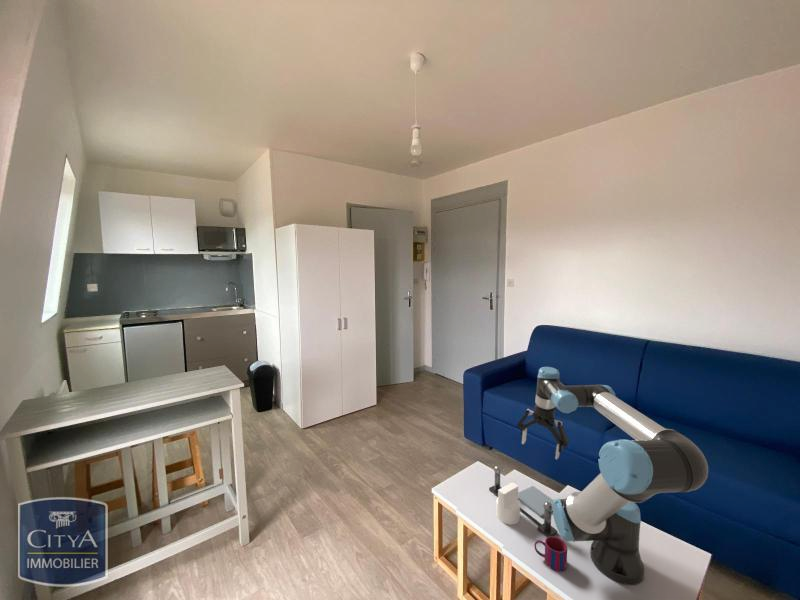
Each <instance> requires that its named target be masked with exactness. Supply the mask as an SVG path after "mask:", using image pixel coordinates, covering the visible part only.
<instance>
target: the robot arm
mask: <svg viewBox="0 0 800 600" xmlns="http://www.w3.org/2000/svg"><path fill="white" fill-rule="evenodd" d="M536 379H537V381H536V392H535V403H534V410H532V408H530V407H528V408H527V409H526V411H525V413H524V415H523V416H522V417H521V418H520V420H519V421H518V422H517V423H516V427H517V428H519V429H520V432H519V435H520V436H521V437H522V438H521V445H524V444H525V443H526V441H527V432H528V428H529V427H530V426H532V425H535V424H537V425H538V426H541V427H544V428H547V430H548V431H550V432H551V434H552V436H553V437H554V439H555V440H556V442H557V444H556V448H555V457H554V459H555V460H558V459H559V457H560V453H562V452H563V450H564V447H566V448H567V447H568V446H569V444H570V441H569V439H568V436H567V433H566V430H565V428H564V425H563V424H564V421H563V420H562V419H559V420H558V419H555V413H556V409H557V410H558V411H559V412H561V413H564V414H570V413H572V412H575V411H576V410H577V408H585V407H586V408H587V407H588V408H590V407H591V408H594V410H596V411H597V412H598V413H600V414H601V415H602V416H603V417H605V418H606V419H607V420H609V421H610V422H612V423H613V424H614V425H615V426H617V427H618V428H619V429H621V430H622V431H623V432H625V433H626V434H627V435H629V436H630V437H631V438H632V439H633V440H630V439H625V438H624V439H616V440H611V441H608V442H606V443H603V445H602V446H601V448H600V450H599V453H598V456H599V458H598V460H597V461H598V468H599V471H600V473H599V474H598V475H597V476H596V477H595V478H594V479H593V480H592V481H591V482H590V483H588V484H587V486H585V488H584V489H583V490H582V491H574V492H572V493H570V494H569V495H568V496H567V497H566V498H557V499H553V500H554V501H553V503H552V511H553V512H552V516H553V520H554V524H555V527H556V530H557V531H558V533H559V535H560V537H562V540H563V541H566V542H573V543H575V542H589V541H590V542H591V541H592V543H591V545H590V551H589V552H590V553H589V555H590V560H591V563H593V564H594V566H595V568H596V569H597V570H598V571H600V572H601V573H602V574H603V575H605V576H606V577H607V578H610V579H611V580H612V581H615V582H618V583H620V584H623V585H630V586H631V585H639V584H641V583H642V582H643V581H644V579H645V566H644V565H645V564H644V562H643V560H642V558H641V552H640V550H639V549H640V533H641V522H642V519H641V511H640V508H639V506H638V504H637V503H639V504H641V503H644V502H646V501H648V500H649V499H650V498H652V497H653V496H655V495H657V494H661V493H662V494H663V493H664V494H665V493H689V492H692V491H693V492H694V491H696V490H698V489H700V488H701V487H702V486H703V485H705V484H706V481H707V479H708V475H709V465H708V462H707V459H706V457H705V455H704V453H703V452H702V450H701V449H700V448H699V447H698V446H697V445H696V444H695V443H694V442H693V441H692V440H691V439H690V438H688V437H687V436H685V435H683V434H681V433H680V432H678V431H677V430H675V429H671V428H665V427H664V426H663V425H660V424H658V422H656V421H655V420H653V419H651V418H649V417H648V416H646V415H645V414H643V413H642V412H640V411H639V410H637V409H635V408H634V407H632V406H631V405H629V404H628V403H626V402H624V401H623V400H622V399H619V397H617V396H616V392H615V391H614V390H613V388H612V387H611V386H609V385H608V384H607V385H606V384H589V385H588V384H585V385H582V384H581V385H579V384H578V385H577V384H576V385H565V384H564V383H562V381H560V371H559V369H557V368H555V367H551V366H542V367H540V368H539V369H538V373H537V378H536ZM531 415H532V417H533V418H532V419H530V420H528V421H527V422H525V423H524V421H525V420H526V419H527V418H528V417H530V416H531ZM523 423H524V424H523ZM556 427H557V428H556Z"/></svg>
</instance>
